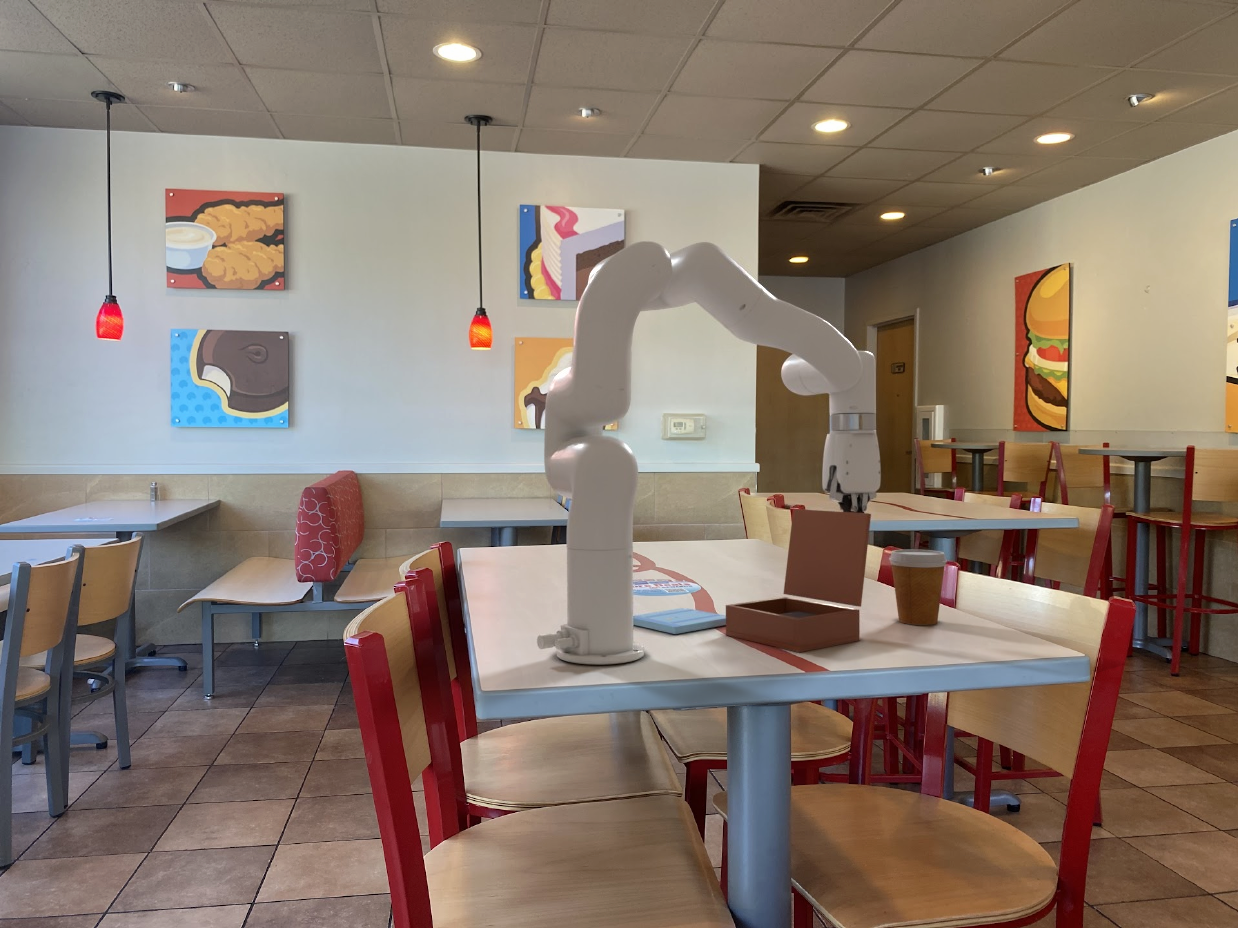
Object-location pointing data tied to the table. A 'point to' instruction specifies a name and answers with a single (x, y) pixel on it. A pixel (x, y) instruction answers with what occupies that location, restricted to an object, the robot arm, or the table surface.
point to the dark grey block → (798, 614)
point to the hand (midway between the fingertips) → (853, 534)
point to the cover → (827, 556)
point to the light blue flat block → (679, 620)
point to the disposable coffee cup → (918, 584)
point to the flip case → (793, 623)
